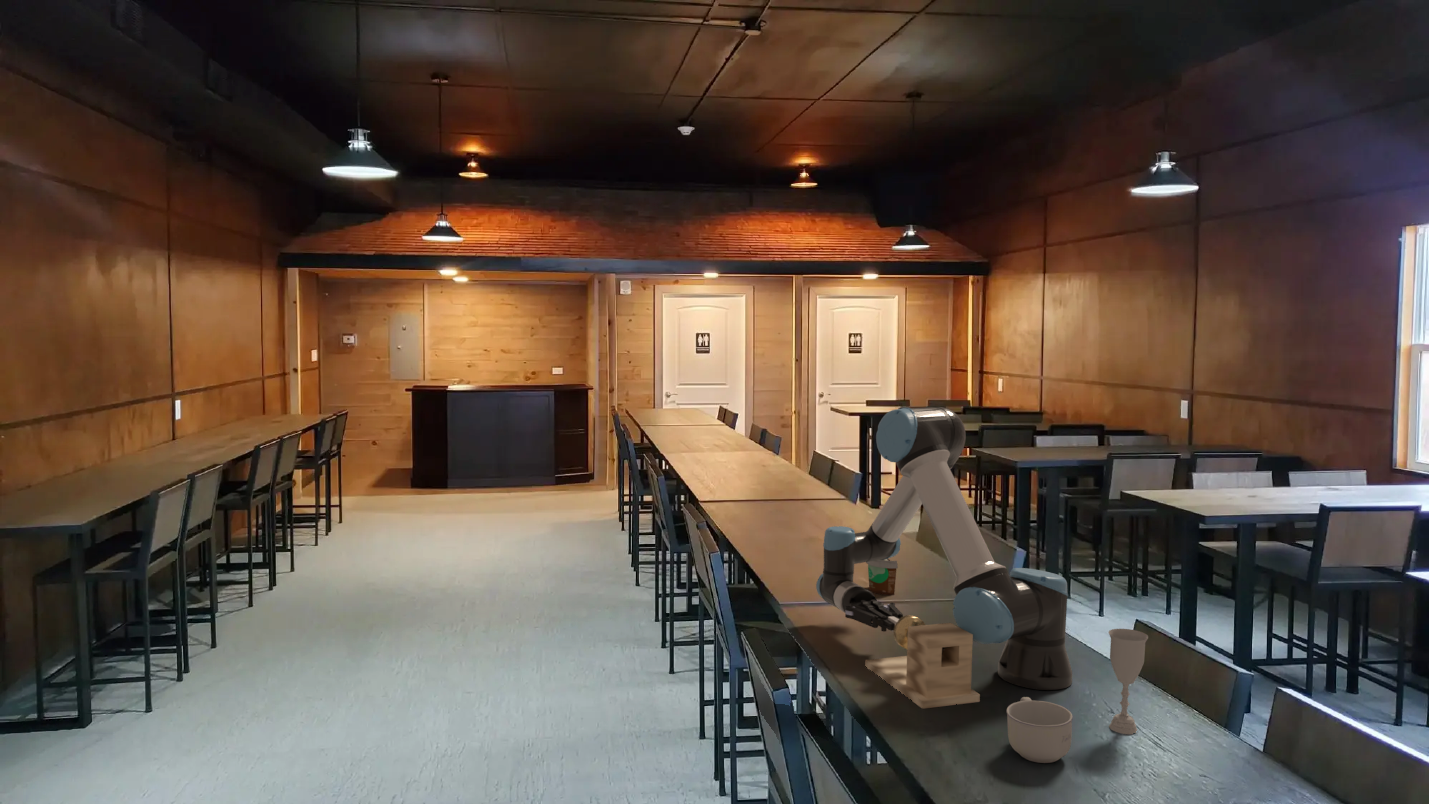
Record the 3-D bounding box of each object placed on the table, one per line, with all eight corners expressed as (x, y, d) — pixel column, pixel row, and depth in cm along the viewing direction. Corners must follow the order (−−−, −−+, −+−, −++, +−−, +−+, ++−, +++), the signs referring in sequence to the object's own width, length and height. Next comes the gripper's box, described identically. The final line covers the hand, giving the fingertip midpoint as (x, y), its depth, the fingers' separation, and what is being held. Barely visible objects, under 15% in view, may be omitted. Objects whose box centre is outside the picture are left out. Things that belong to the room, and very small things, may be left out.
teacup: (1075, 773, 156) (1077, 726, 156) (1008, 765, 159) (1010, 720, 158) (1062, 738, 170) (1064, 695, 169) (1000, 732, 172) (1001, 689, 172)
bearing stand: (865, 666, 205) (867, 606, 204) (917, 661, 209) (919, 602, 208) (922, 708, 182) (924, 641, 181) (979, 701, 186) (982, 635, 185)
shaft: (892, 648, 199) (893, 616, 199) (921, 645, 202) (922, 613, 201) (922, 667, 188) (923, 633, 187) (952, 664, 190) (953, 630, 190)
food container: (857, 586, 272) (858, 552, 271) (876, 584, 274) (877, 551, 273) (877, 597, 260) (878, 562, 259) (896, 596, 262) (898, 561, 261)
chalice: (1110, 717, 180) (1115, 626, 178) (1148, 727, 175) (1153, 633, 174) (1098, 729, 174) (1103, 635, 173) (1137, 740, 170) (1142, 643, 168)
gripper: (879, 614, 225) (931, 645, 203) (830, 618, 221) (877, 651, 198) (880, 584, 224) (932, 612, 202) (831, 587, 220) (878, 616, 198)
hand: (905, 631), depth 200 cm, fingers closed
